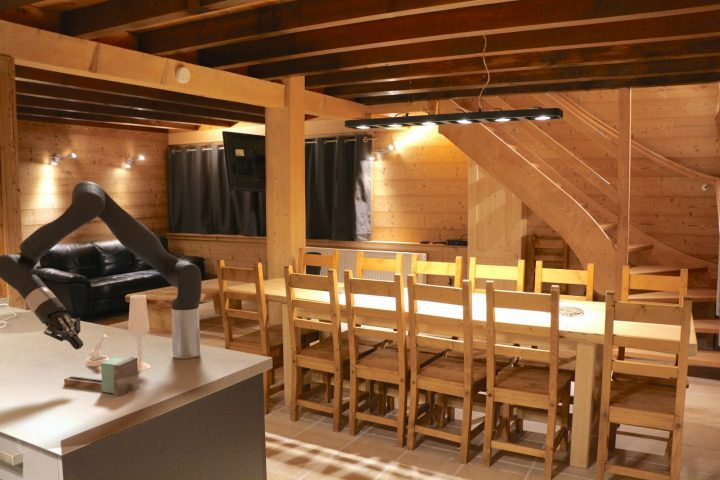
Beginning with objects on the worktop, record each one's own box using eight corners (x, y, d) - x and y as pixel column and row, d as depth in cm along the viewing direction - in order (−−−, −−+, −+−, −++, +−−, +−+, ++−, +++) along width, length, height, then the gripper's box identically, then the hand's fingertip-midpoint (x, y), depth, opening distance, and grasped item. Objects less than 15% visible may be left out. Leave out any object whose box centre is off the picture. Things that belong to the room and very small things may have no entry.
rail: (57, 388, 173) (56, 358, 172) (78, 379, 181) (77, 351, 180) (120, 396, 167) (118, 365, 166) (138, 387, 174) (137, 357, 174)
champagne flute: (128, 371, 189) (125, 298, 187) (130, 365, 196) (128, 294, 193) (150, 369, 191) (148, 297, 189) (151, 363, 197) (149, 293, 195)
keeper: (101, 391, 170) (100, 363, 169) (116, 384, 176) (115, 357, 175) (116, 393, 168) (115, 364, 167) (130, 386, 174) (129, 358, 173)
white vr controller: (117, 351, 194) (98, 341, 192) (99, 378, 196) (79, 368, 194) (123, 341, 201) (105, 330, 199) (106, 366, 203) (87, 356, 201)
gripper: (55, 308, 185) (89, 349, 183) (20, 317, 172) (56, 361, 170) (68, 293, 183) (102, 334, 181) (34, 301, 171) (70, 345, 168)
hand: (80, 347), depth 175 cm, fingers closed
